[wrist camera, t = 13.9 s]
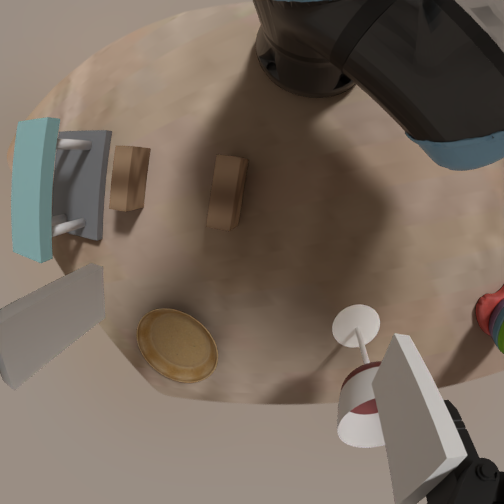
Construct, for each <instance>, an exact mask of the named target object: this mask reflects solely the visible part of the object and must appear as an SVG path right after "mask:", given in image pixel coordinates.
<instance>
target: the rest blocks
mask: <svg viewBox="0 0 504 504" xmlns="http://www.w3.org/2000/svg"><path fill="white" fill-rule="evenodd" d="M150 150H151V149H150V148H142V147H134V146H116V147H115V154H114V162H113V171H112V181H111V191H110V204H109V209H113V210H119V211H124V212H127V211H131V210H135V209H139V208H143V207H144V198H145V188H146V179H147V171H148V164H149V156H150ZM248 162H249V160H248V159H244V158H241V157H234V156H227V155H219V154H217V156H216V162H215V168H214V175H213V181H212V188H211V195H210V202H209V209H208V216H207V223H206V227H209V228H214V229H219V230H224V231H231V230H232V229H233V228H235V227H236V226H237V225H238V223H239V217H240V211H241V204H242V198H243V192H244V186H245V180H246V174H247V168H248Z"/></svg>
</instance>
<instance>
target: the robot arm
mask: <svg viewBox="0 0 504 504" xmlns="http://www.w3.org/2000/svg"><path fill="white" fill-rule="evenodd" d="M253 3H254V5H255V8H256V11H257V14H258V17H259V20H260V23H261V26H260V28H259V30H258V33H257V37H256V52H257V56H258V59H259V61H260V64H261V66H262V68H263V70H264V72H265V73H266V74H267V76H268V77H269V78H270V79H271V80H272V81H273V82H274V83H275V84H277V85H278V86H280V87H281V88H283V89H285V90H286V91H289V92H291V93H293V94H296V95H300V96H304V97H312V98H323V97H330V96H334V95H338V94H340V93H342V92H345V91H346V90H348V89H350V88H351V87H352V86H353V85H355V84H357V85H358V86H359V87H360V88H361V89H362V90H363V91H365V92H366V93H367V94H368V95H369V96H370V97H371V98H372V99H373V100H374V101H375V102H377V103H378V104H379V105H380V106H381V107H382V108H383V109H384V110H385V111H386V112H387V113H388V114H389V115H390V116H391V117H392V118H393V119H394V120H395V121H396V122H397V123H398V124H399V125H400V126H401V127H402V128H403V129H404V131H405V134H406V135H407V137H408V138H409V139H410V140H412V141H413V142H415V143H417V144H418V145H419V146H420V147H421V148H422V149H423V150H424V151H425V153H426V154H427V155H428V156H429V157H430V158H431V159H432V160H433V161H434V162H435V163H437V164H438V165H439V166H442V167H445V168H448V169H450V170H457V171H465V170H472V169H477V168H480V167H484V166H486V165H489V164H492V163H494V162H496V161H498V160H500V159H502V158H504V0H253ZM104 318H105V305H104V282H103V267H102V266H99V265H96V264H93V263H90V264H88V265H86V266H84V267H82V268H80V269H78V270H76V271H74V272H72V273H70V274H67V275H65V276H63V277H61V278H59V279H57V280H56V281H53V282H51V283H49V284H48V285H45V286H43V287H41V288H39V289H38V290H36V291H34V292H32V293H30V294H28V295H26V296H24V297H22V298H20V299H18V300H16V301H14V302H13V303H11V304H9V305H7V306H5V307H3V308H1V309H0V373H1V376H2V378H3V381H4V382H5V383H6V384H7V385H9V386H10V387H11V388H12V389H14V390H16V389H17V388H18V387H19V386H21V385H22V384H23V383H24V382H26V381H27V380H28V379H29V378H30V377H32V376H33V375H34V374H35V373H36V372H38V371H39V370H40V369H41V368H43V367H44V366H45V365H46V364H47V363H49V362H50V361H51V360H52V359H54V358H55V357H56V356H57V355H59V354H60V353H61V352H62V351H63V350H65V349H66V348H67V347H68V346H70V345H71V344H72V343H73V342H75V341H76V340H77V339H79V338H80V337H81V336H82V335H84V334H85V333H86V332H88V331H89V330H90V329H91V328H93V327H94V326H95V325H96V324H98V323H99V322H101V321H102V320H103V319H104ZM371 384H372V388H373V392H374V396H375V400H376V405H377V409H378V413H379V418H380V422H381V427H382V432H383V437H384V442H385V447H386V452H387V457H388V463H389V469H390V475H391V481H392V487H393V494H394V501H395V504H417V503H418V502H419V501H420V500H421V499H423V498H424V497H425V496H426V498H427V502H428V503H427V504H504V472H500V471H499V470H498V468H497V466H496V465H495V464H494V463H493V462H492V461H491V460H489V459H486V458H479V456H478V454H477V452H476V449H475V447H474V445H473V443H472V440H471V438H470V436H469V433H468V431H467V429H465V425H464V423H463V421H461V420H462V418H461V416H460V414H459V412H458V410H457V409H456V408H455V407H454V406H453V404H452V403H451V402H450V401H449V400H443V398H442V397H441V394H440V393H439V390H438V388H437V386H436V384H435V382H434V380H433V378H432V376H431V374H430V373H429V371H428V369H427V367H426V365H425V363H424V361H423V359H422V357H421V356H420V354H419V352H418V350H417V348H416V347H415V345H414V343H413V341H412V339H411V338H410V336H409V335H402V334H396V333H394V335H393V337H392V340H391V342H390V344H389V347H388V349H387V351H386V353H385V356H384V358H383V360H382V362H381V364H380V367H379V369H378V371H377V373H376V375H375V377H374V379H373V381H372V383H371Z"/></svg>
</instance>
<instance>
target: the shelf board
mask: <svg viewBox="0 0 504 504" xmlns="http://www.w3.org/2000/svg"><path fill="white" fill-rule="evenodd" d="M59 124H60V119H57V118H49V117H47V118H40V119H33V120H26V121H20V122H18V127H17V133H16V140H15V149H14V159H13V172H12V195H11V215H12V216H11V217H12V241H13V252H15V253H18V254H20V255H22V256H25V257H27V258H29V259H32V260H34V261H37V262H39V263H43V262H45V261H47V260H50V259H52V258H53V257H52V223H51V222H52V187H53V172H54V161H55V152H56V144H57V137H58V130H59Z"/></svg>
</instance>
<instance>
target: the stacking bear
mask: <svg viewBox="0 0 504 504" xmlns="http://www.w3.org/2000/svg"><path fill="white" fill-rule="evenodd" d="M476 317H477V321H478V324H479V326H480V328H481V329H482V330H483V331H484V332H485V333H486V334H488V335H490V336H491V337H492V339H493V340H494V342H495V344H496V346H497V347H498V349H499V350H500V351H501V352H502V353H503V354H504V285H503V287H502V288H501V289H500V290H499V291H497V292H496V293H493V294H485V295H484V296H483V297H481V298H480V299H479V301H478V303H477V305H476Z"/></svg>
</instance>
